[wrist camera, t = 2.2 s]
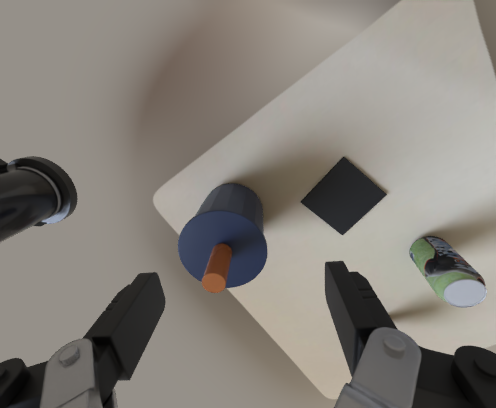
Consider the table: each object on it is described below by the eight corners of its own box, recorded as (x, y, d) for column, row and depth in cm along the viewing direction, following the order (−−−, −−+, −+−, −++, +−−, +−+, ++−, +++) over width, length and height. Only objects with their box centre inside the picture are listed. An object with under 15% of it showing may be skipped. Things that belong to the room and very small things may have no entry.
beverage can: (443, 256, 44) (504, 306, 33) (401, 266, 46) (447, 317, 34) (441, 227, 42) (505, 270, 31) (397, 239, 44) (444, 284, 32)
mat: (300, 201, 42) (301, 202, 41) (343, 156, 39) (344, 157, 38) (341, 234, 44) (342, 235, 43) (385, 193, 41) (387, 194, 40)
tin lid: (164, 251, 33) (140, 288, 26) (212, 188, 29) (198, 212, 22) (232, 295, 35) (225, 339, 28) (285, 242, 31) (291, 278, 25)
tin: (192, 215, 44) (168, 253, 32) (226, 171, 40) (213, 196, 29) (238, 247, 46) (231, 294, 34) (275, 207, 42) (280, 244, 31)
